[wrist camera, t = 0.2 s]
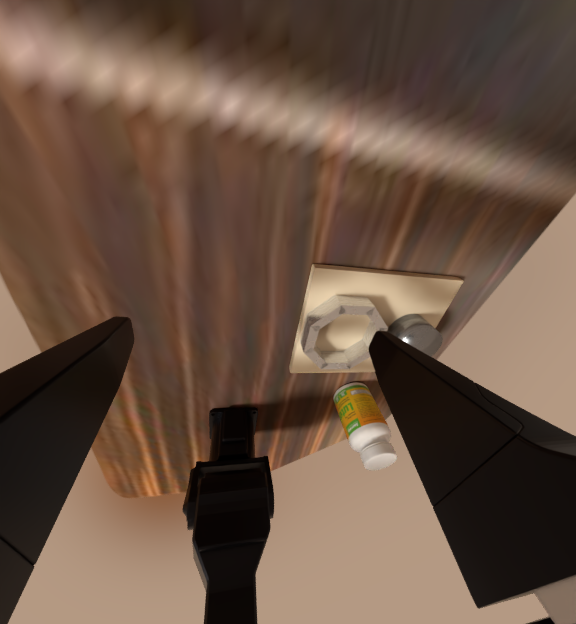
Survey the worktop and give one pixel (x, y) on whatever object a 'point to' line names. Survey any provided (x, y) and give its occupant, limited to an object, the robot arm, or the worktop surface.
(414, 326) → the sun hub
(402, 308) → the carrier plate
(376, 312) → the socket collar
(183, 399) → the worktop surface
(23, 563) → the robot arm
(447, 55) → the worktop surface
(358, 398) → the supplement bottle
